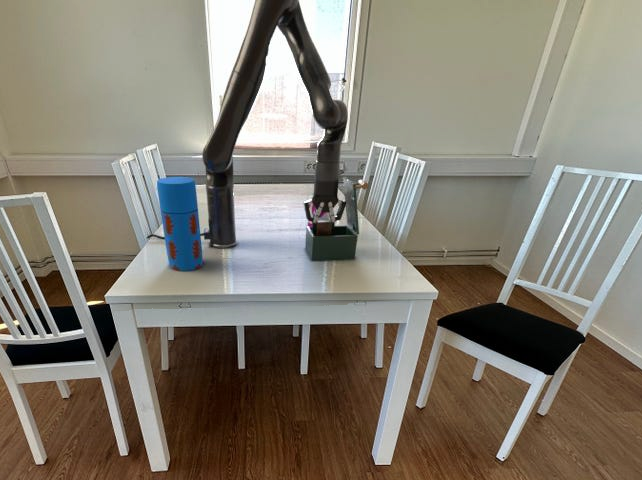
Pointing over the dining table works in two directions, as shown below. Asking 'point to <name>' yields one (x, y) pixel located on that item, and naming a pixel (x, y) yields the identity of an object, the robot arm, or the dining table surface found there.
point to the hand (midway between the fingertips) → (322, 233)
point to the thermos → (180, 222)
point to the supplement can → (322, 215)
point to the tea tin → (331, 244)
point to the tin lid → (352, 202)
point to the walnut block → (324, 227)
